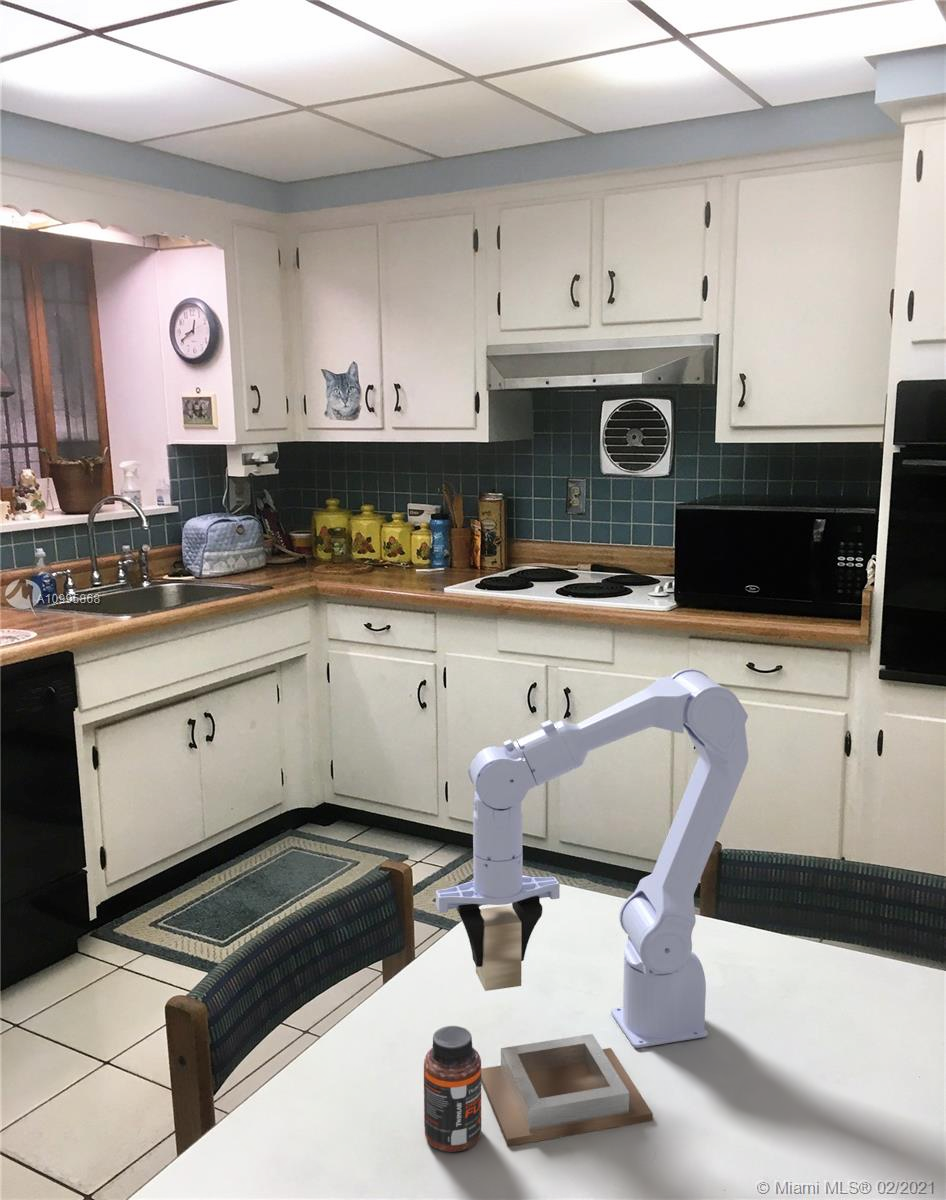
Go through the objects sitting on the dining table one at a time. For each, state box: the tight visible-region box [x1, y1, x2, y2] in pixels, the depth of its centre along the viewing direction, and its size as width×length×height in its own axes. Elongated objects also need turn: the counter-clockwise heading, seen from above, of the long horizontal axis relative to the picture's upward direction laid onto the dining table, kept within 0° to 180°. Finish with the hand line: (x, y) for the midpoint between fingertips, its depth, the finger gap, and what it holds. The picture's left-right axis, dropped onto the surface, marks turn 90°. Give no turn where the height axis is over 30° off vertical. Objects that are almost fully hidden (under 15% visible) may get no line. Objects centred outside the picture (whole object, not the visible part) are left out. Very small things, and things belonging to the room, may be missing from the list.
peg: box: [475, 904, 522, 992], centre depth 122 cm, size 4×4×8 cm
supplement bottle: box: [423, 1025, 482, 1153], centre depth 106 cm, size 6×6×11 cm
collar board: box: [481, 1033, 654, 1147], centre depth 113 cm, size 16×12×3 cm
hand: (498, 959), depth 122 cm, fingers closed on peg, 4 cm apart
